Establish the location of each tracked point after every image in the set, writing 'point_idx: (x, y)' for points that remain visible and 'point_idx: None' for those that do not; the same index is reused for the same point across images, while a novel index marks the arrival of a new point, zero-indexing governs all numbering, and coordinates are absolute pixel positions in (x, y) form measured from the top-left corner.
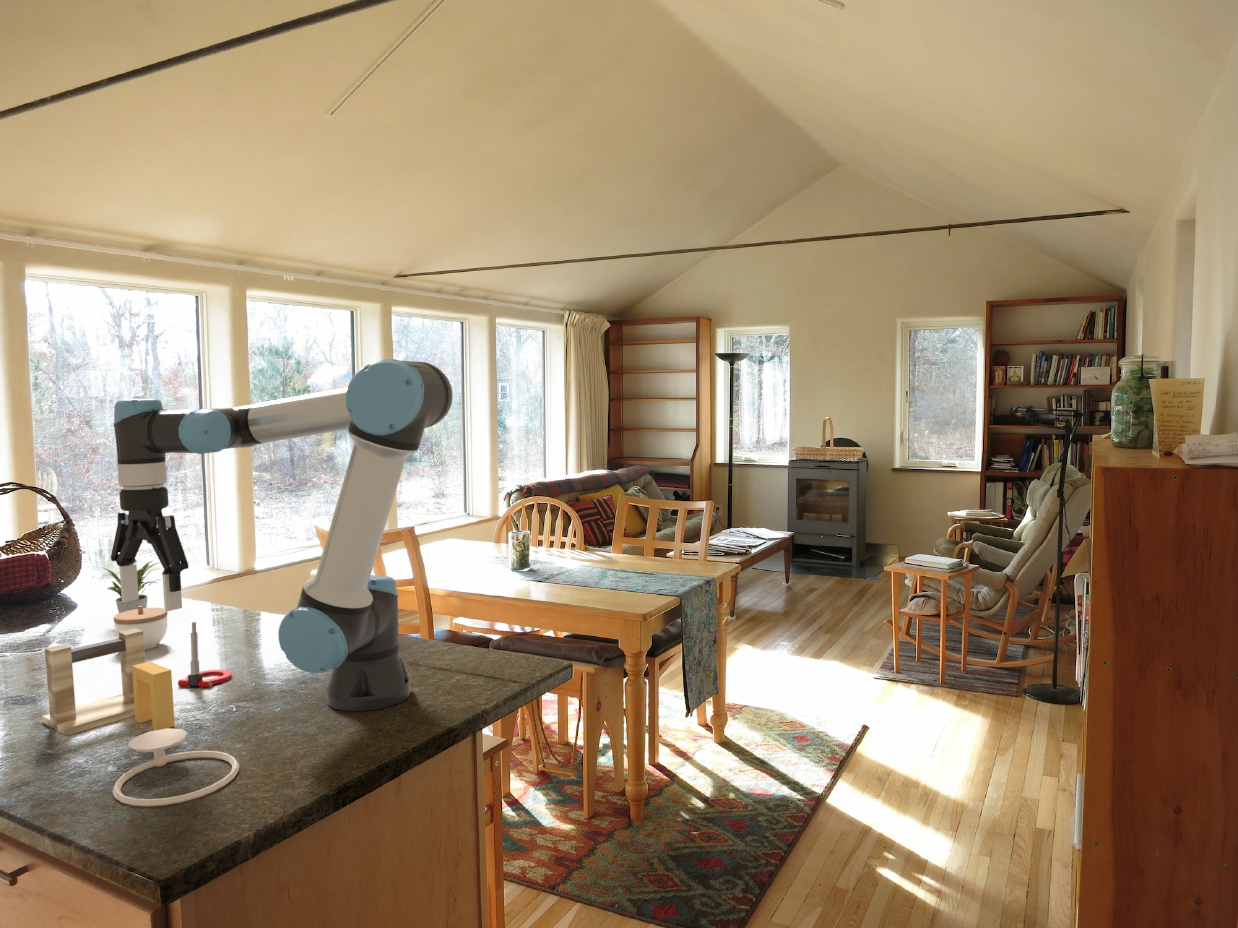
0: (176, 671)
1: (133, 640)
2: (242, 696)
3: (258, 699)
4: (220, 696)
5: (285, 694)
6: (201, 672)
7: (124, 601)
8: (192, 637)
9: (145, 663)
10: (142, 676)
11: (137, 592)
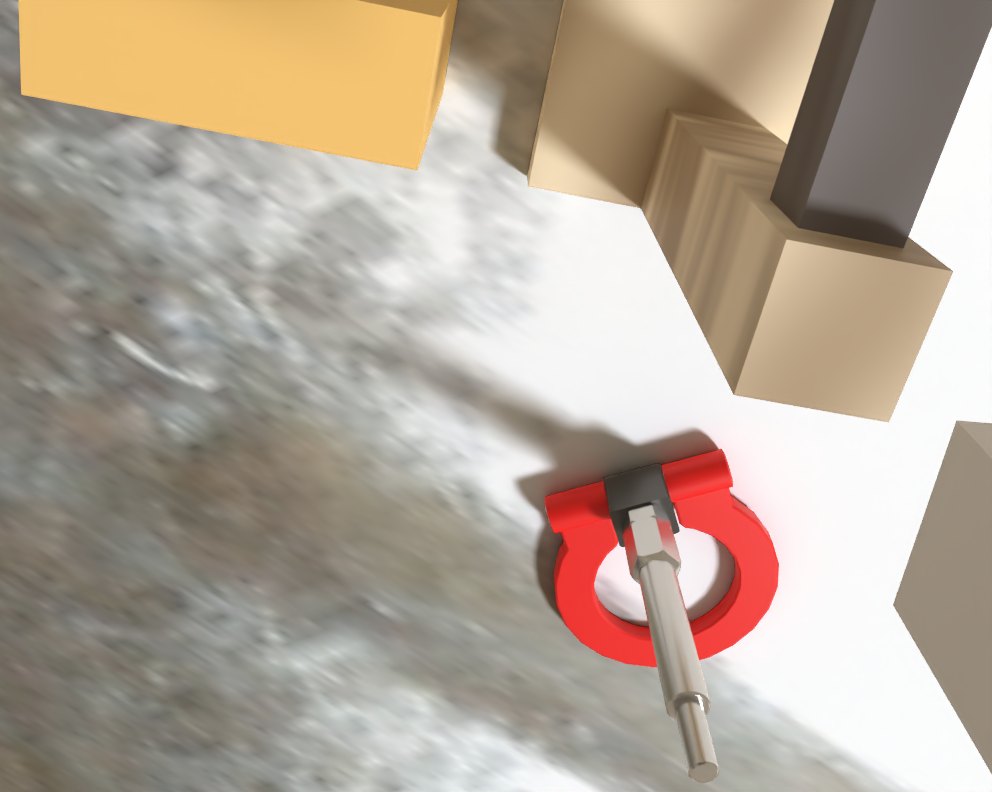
0: None
1: (744, 278)
2: (275, 482)
3: (163, 485)
4: (379, 440)
5: (113, 575)
6: (748, 601)
7: (959, 430)
8: (679, 671)
9: (395, 116)
10: None
11: (939, 662)
